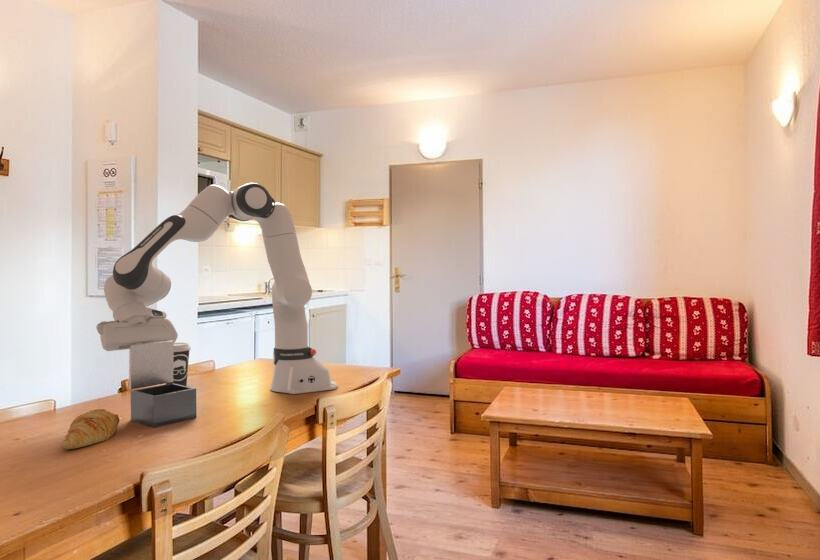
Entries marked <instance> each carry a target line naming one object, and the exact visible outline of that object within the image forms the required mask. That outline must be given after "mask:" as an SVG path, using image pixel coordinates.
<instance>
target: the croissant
mask: <svg viewBox="0 0 820 560" xmlns="http://www.w3.org/2000/svg"><path fill="white" fill-rule="evenodd" d="M119 423H120V417H119V415H118V414H115V413H113V412H111V411H108V410H106V409H94V410H89V411H87V412H85V413H82V414H79V415H78V416H77V417H76V418H74V419H73V420H72V422H71V424H70V425H69V429H68V432H67V434H66V435H65V438H64V440H63V442H62V444H63V445H62V446H63V449H65V450H74V449H80V448H84V447H88V446H91V445H94V444H98V442H99V443H102V442H104V441H107V440H109V438H111V437H112V436H113V435H114V434H115V433H116V431H117V429H118V426H119ZM101 441H102V442H101Z"/></svg>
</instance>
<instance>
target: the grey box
mask: <svg viewBox="0 0 820 560" xmlns="http://www.w3.org/2000/svg"><path fill="white" fill-rule="evenodd" d="M196 418H197V388H195V387H192V386H188V385H187V386H183V385H179V384H175V383H171V384H166V383H165V384H159V385H154V386H148V387H142V388H137V389H130V420H131V421H132V420H133V422H135V421H136V423H138V422H139V424H141V423H142V424H141V425H144V424H145V426H147V425H148V427H151V428H158V426H159V427H161V426H162V427H163V426H167V425H171V424H176V423H178V422H179V423H180V422H182V421H187V420H191V419H196Z"/></svg>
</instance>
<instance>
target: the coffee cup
mask: <svg viewBox="0 0 820 560" xmlns="http://www.w3.org/2000/svg"><path fill="white" fill-rule="evenodd" d="M191 350H192V349H191V346H190V345H189V342H175V343H174V359H173V382H171V383H175V384H179V385H183V386H188V371H189V370H188V369H189V358H190V351H191ZM171 383H165V384H171Z"/></svg>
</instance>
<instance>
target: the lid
mask: <svg viewBox="0 0 820 560" xmlns="http://www.w3.org/2000/svg"><path fill="white" fill-rule="evenodd" d="M128 358H129V360H128V361H129V362H128V363H129V367H128V368H129V369H128V374H129V375H128V377H129V378H128V389H129V390H137V389H143V388H148V387H154V386H160V385H165V384H166V383H171V382H173V359H174V341H163V342H154V343H144V344H135V345H130V349H129V357H128Z"/></svg>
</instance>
